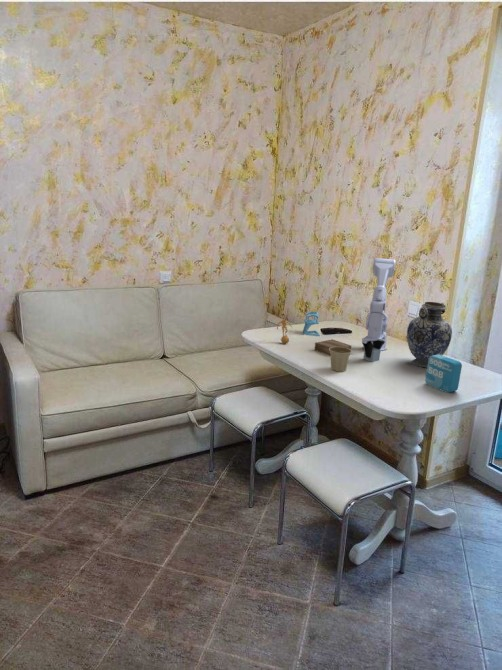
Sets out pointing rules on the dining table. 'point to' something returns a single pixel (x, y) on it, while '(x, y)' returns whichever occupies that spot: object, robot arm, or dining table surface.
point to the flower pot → (339, 358)
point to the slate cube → (373, 355)
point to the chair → (310, 323)
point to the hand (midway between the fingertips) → (371, 356)
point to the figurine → (284, 338)
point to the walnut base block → (329, 345)
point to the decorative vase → (428, 333)
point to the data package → (443, 373)
